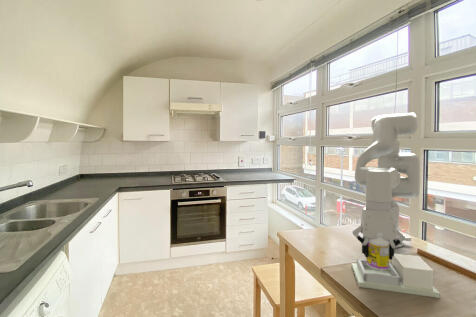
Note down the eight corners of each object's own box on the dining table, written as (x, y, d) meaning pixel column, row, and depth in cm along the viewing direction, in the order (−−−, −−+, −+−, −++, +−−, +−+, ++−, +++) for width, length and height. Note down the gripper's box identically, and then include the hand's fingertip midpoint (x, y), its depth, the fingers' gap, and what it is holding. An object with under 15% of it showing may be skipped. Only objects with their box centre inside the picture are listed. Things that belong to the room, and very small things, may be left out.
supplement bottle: (362, 262, 83) (362, 227, 83) (379, 261, 84) (380, 226, 83) (374, 272, 77) (375, 234, 76) (393, 271, 77) (394, 233, 77)
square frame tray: (419, 274, 82) (419, 254, 82) (439, 297, 70) (440, 273, 70) (351, 266, 89) (351, 247, 88) (358, 286, 76) (359, 264, 76)
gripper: (403, 204, 80) (402, 254, 81) (348, 201, 85) (348, 249, 86) (412, 210, 73) (411, 265, 74) (352, 206, 78) (352, 258, 79)
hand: (377, 256), depth 80 cm, fingers closed on supplement bottle, 6 cm apart
